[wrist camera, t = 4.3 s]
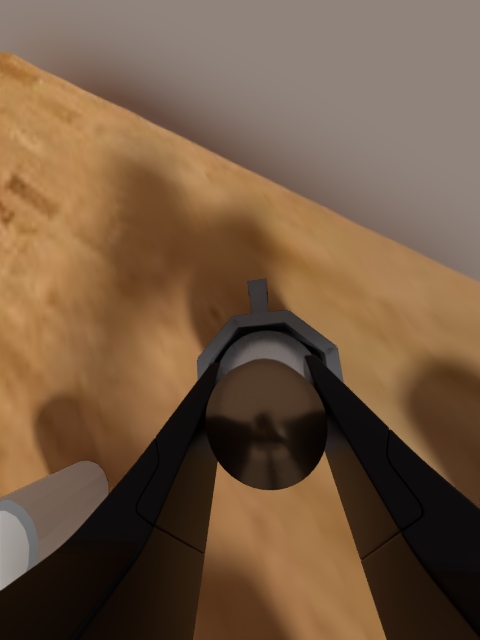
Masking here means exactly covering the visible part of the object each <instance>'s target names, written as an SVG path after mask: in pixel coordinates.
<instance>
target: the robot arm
mask: <svg viewBox="0 0 480 640" xmlns="http://www.w3.org/2000/svg"><path fill="white" fill-rule="evenodd" d="M223 376H224V372H223V369H222V366H221V364H220V363H211V364H210V365H209V366H208V368H207V369H206V370H205V372H204V373H203V374H202V376H201V377H200V378H199V380H198V381H197V382H196V384H195V385H194V386H193V388H192V389H191V390H190V392H189V393H188V394H187V396H186V397H185V398H184V400H183V401H182V402H181V404H180V405H179V406H178V408H177V409H176V410H175V412H174V413H173V414H172V416H171V417H170V418H169V420H168V421H167V422H166V424H165V425H164V426H163V428H162V429H161V430H160V432H159V433H158V434H157V436H156V438H155V439H154V440H153V441H152V442H151V444H150V445H149V446H148V448H147V449H146V450H145V451H144V453H143V454H142V455H141V456H140V458H139V459H138V460H137V462H136V463H135V464H134V465H133V467H132V468H131V469H130V470H129V471H128V472H127V474H126V475H125V476H124V477H123V478H122V480H121V481H120V482H119V483H118V484H117V485H116V486H115V488H114V489H113V490H112V491H111V492H110V493H109V494H108V496H107V497H106V498H105V499H104V500H103V501H102V502H101V504H100V505H99V506H98V507H97V508H96V509H95V511H94V512H93V513H92V514H91V515H90V516H89V517H88V519H87V520H86V521H85V522H84V523H83V524H82V525H81V526H80V527H79V529H78V530H77V531H76V532H75V533H74V534H73V535H72V536H71V537H70V538H69V539H68V540H67V541H66V542H64V543H63V544H62V545H61V546H60V547H59V548H58V549H56V550H55V551H54V552H53V553H52V554H50V555H49V556H48V557H46V558H45V559H44V560H42V561H41V562H39V563H38V564H37V565H35V566H34V567H32V568H31V569H30V570H28V571H27V572H25V573H24V574H23V575H21V576H20V577H19V578H17V579H16V580H14V581H13V582H12V583H10V584H9V585H7V586H6V587H5V588H3V589H2V590H1V591H0V640H193V636H194V628H195V621H196V614H197V607H198V600H199V592H200V585H201V578H202V571H203V564H204V557H205V555H204V554H205V549H206V541H207V534H208V527H209V520H210V513H211V506H212V498H213V491H214V484H215V477H216V470H217V463H218V460H217V459H216V457H215V455H214V453H213V452H212V450H211V447H210V444H209V441H208V437H207V433H206V409H207V405H208V401H209V398H210V396H211V393H212V392H213V390H214V388H215V386H216V385H217V383H218V382H219V381H220V380H221V379H222V378H223ZM304 376H305V378H306V379H307V380H308V381H309V382H310V384H311V385H312V386H313V387H314V389H315V390H316V392H317V393H318V395H319V397H320V399H321V401H322V403H323V406H324V409H325V413H326V418H327V427H328V431H327V441H326V446H325V449H324V450H325V453H326V456H327V459H328V462H329V465H330V469H331V472H332V475H333V478H334V481H335V484H336V487H337V490H338V493H339V496H340V499H341V502H342V505H343V508H344V511H345V514H346V517H347V520H348V523H349V526H350V529H351V532H352V536H353V539H354V542H355V545H356V548H357V551H358V554H359V557H360V559H361V560H362V561H361V563H362V566H363V569H364V572H365V575H366V578H367V581H368V585H369V588H370V591H371V594H372V597H373V600H374V603H375V606H376V609H377V612H378V615H379V618H380V621H381V624H382V627H383V630H384V633H385V636H386V639H387V640H480V509H479V508H478V507H477V506H476V505H475V504H474V503H472V502H471V501H470V500H469V499H468V498H466V497H465V496H464V495H463V494H462V493H461V492H459V491H458V490H457V489H456V488H455V487H453V486H452V485H451V484H450V483H449V482H448V481H446V480H445V479H444V478H443V477H442V476H441V475H439V474H438V473H437V472H436V471H435V470H434V469H433V468H431V467H430V466H429V465H428V464H427V463H426V462H425V461H423V460H422V459H421V458H420V457H419V456H418V455H417V454H416V453H415V452H414V451H413V450H412V449H411V448H410V447H408V446H407V445H406V444H405V443H404V442H403V441H402V440H401V439H400V438H399V437H398V436H397V435H396V434H395V433H394V432H393V431H392V430H389V427H388V426H387V425H386V424H385V423H384V422H383V421H382V420H381V419H380V418H379V417H378V416H377V415H376V414H375V413H374V412H373V411H371V410H370V409H369V408H368V407H367V406H366V405H365V404H364V403H363V402H362V401H361V400H360V399H359V398H358V397H357V396H356V395H355V394H354V393H353V392H352V391H351V390H350V389H349V388H348V387H347V386H346V385H345V384H344V383H343V382H342V381H341V380H340V379H339V378H338V377H337V376H336V375H335V374H334V373H333V372H332V371H331V370H330V369H329V368H328V367H327V366H326V365H325V364H324V363H323V362H322V361H321V360H320V359H319V358H318V357H317V356H315V355H305V356H304Z"/></svg>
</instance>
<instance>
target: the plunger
mask: <svg viewBox="0 0 480 640" xmlns="http://www.w3.org/2000/svg"><path fill="white" fill-rule="evenodd" d="M305 355H312V354H311V353H310V352H309V351H308V349H307V348H306V347H305V346H304V345H303V344H301V343H300V342H299V341H298V340H296V339H295V338H293V337H291V336H289V335H286V334H284V333H281V332H276V331H258V332H254V333H250V334H248V335H246V336H243V337H242V338H240V339H239V340H237V341H236V342H235V343H234V344H232V345H231V347H230V348H229V349H228V350H227V351H226V353H225V354H224V356H223V358H222V360H221V362H220V364H221V366H222V369H223V372H224V376H223V378H222V379H221V380H220V381H219V382H218V383H217V385H216V386H215V388H214V390H213V392H212V393H211V396H210V398H209V401H208V405H207V409H206V433H207V437H208V441H209V444H210V447H211V450H212V452H213V453H214V455H215V457H216V459H217V460H218V462H219V463H220V465H221V466H222V467H223V468H224V469H225V470H226V471H227V472H228V473H229V474H230V475H231V476H232V477H234V478H235V479H237V480H238V481H240V482H242V483H243V484H245V485H248V486H250V487H253V488H257V489H262V490H279V489H284V488H288V487H290V486H293V485H295V484H297V483H299V482H300V481H302V480H303V479H305V478H306V477H307V476H308V475H309V474H310V473H311V472H312V471H313V470H314V469H315V467H316V466H317V464H318V463H319V461H320V459H321V457H322V455H323V452H324V449H325V446H326V441H327V431H328V427H327V418H326V413H325V409H324V406H323V403H322V401H321V399H320V397H319V395H318V393H317V392H316V390H315V389H314V387H313V386H312V385H311V384H310V382H309V381H308V380H307V379H306V378H305V376H304V356H305Z"/></svg>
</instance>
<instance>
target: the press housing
mask: <svg viewBox="0 0 480 640" xmlns="http://www.w3.org/2000/svg"><path fill="white" fill-rule="evenodd" d="M247 283H248V293H249V296H250V303H251V313H252V314H247V315H238V316H233V317H231V318H230V319H229V321H228V322H227V323H226V324H225V326H224V327H223V328H222V329H221V330H220V332H219V333H218V334H217V335H216V336H215V338H214V339H213V340H212V341H211V342H210V344H209V345H208V346H207V347H206V349H205V350H204V351H203V352H202V353H201V355H200V356H199V357H198V358H197V359H199V360H197V373H198V380H199V378H200V377H201V376H202V374H203V373H204V372H205V370H206V369H207V368H208V366H209V365H210V364H211V363H220V362H221V360H222V358H223V356H224V354H225V353H226V351H227V350H228V349H229V348H230V347H231V345H232V344H234V343H235V342H236V341H237V340H239V339H240V338H242V337H243V336H246V335H248V334H250V333H254V332H258V331H276V332H281V333H284V334H286V335H289V336H291V337H293V338H295V339H296V340H298V341H299V342H300V343H301V344H303V345H304V346H305V347H306V348H307V349H308V351H309V352H310V353H311V354H312V355H315V356H317V357H318V358H319V359H320V360H321V361H322V362H323V363H324V364H325V365H326V366H327V367H328V368H329V369H330V370H331V371H332V372H333V373H334V374H335V375H336V376H337V377H338V378H339V379H340V380H341V381H342V382H343V376H342V370H341V364H340V359H339V353H338V348H336V345H335V344H333V343H332V342H331V341H329V340H328V339H327V338H325V337H324V336H323V335H321V334H320V333H319V332H317V331H316V330H315V329H313V328H312V327H311V326H309V325H308V324H307V323H305V322H304V321H303V320H301V319H300V318H299V317H297V316H296V315H295V314H293V313H292V312H291V311H288V310H282V311H273V312H269V311H268V291H267V282H266V279H260V280H252V281H247ZM343 383H344V382H343Z"/></svg>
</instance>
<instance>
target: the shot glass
mask: <svg viewBox="0 0 480 640" xmlns="http://www.w3.org/2000/svg"><path fill="white" fill-rule="evenodd" d="M107 496H108V481H107V478H106V475H105V472H104V471H103V470H102V469H101V468H100V466H99V465H98V464H96V463H94V462H91V461H79V462H77V463H75V464H73V465H71V466H68V467H66V468H64V469H62V470H60V471H58V472H55V473H53V474H51V475H49V476H47V477H44V478H42V479H40V480H38V481H36V482H34V483H31V484H29V485H27V486H25V487H23V488H21V489H18V490H16V491H14V492H12V493H10V494H7V495H5V496H3V497H1V498H0V591H1V590H2V589H3V588H5V587H6V586H7V585H9V584H10V583H12V582H13V581H14V580H16V579H17V578H19V577H20V576H21V575H23V574H24V573H25V572H27V571H28V570H30V569H31V568H32V567H34V566H35V565H37V564H38V563H39V562H41V561H42V560H44V559H45V558H46V557H48V556H49V555H50V554H52V553H53V552H54V551H55V550H56V549H58V548H59V547H60V546H61V545H62V544H63V543H64V542H66V541H67V540H68V539H69V538H70V537H71V536H72V535H73V534H74V533H75V532H76V531H77V530H78V529H79V527H80V526H81V525H82V524H83V523H84V522H85V521H86V520H87V519H88V517H89V516H90V515H91V514H92V513H93V512H94V511H95V509H96V508H97V507H98V506H99V505H100V504H101V502H102V501H103V500H104V499H105V498H106V497H107Z"/></svg>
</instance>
